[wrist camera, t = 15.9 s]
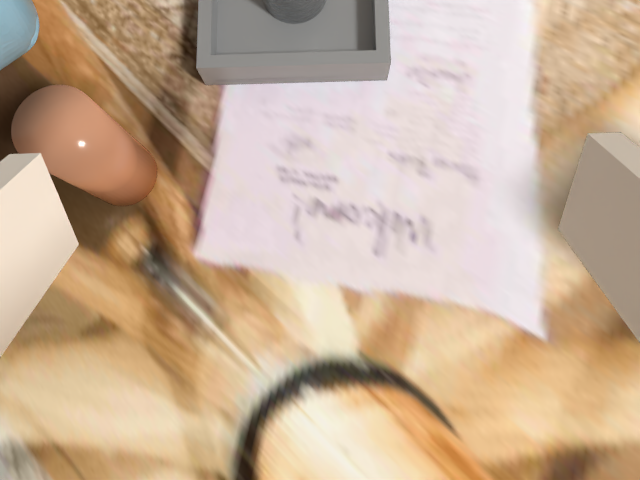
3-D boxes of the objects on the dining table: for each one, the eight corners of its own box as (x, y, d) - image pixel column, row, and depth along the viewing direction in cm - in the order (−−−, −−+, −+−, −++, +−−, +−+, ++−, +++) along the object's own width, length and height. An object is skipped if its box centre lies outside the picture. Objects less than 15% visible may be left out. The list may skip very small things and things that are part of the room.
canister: (89, 206, 35) (7, 169, 26) (93, 143, 36) (15, 85, 27) (155, 205, 35) (95, 167, 26) (158, 141, 36) (101, 83, 27)
